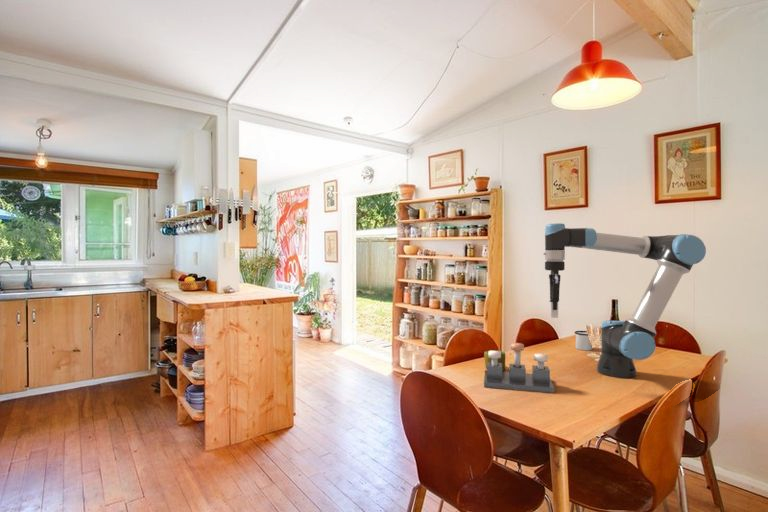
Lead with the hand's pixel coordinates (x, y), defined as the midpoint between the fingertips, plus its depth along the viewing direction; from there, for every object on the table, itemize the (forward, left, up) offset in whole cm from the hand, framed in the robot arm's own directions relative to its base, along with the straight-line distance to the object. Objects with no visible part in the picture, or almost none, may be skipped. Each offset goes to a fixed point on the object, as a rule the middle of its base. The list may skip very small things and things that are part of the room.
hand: (554, 317), depth 168 cm
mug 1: (+24, -11, -27) cm, 38 cm away
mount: (+15, +8, -26) cm, 31 cm away
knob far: (+24, +8, -24) cm, 35 cm away
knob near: (+6, +8, -24) cm, 26 cm away
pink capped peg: (+15, +8, -20) cm, 27 cm away
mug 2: (-24, -61, -27) cm, 71 cm away
